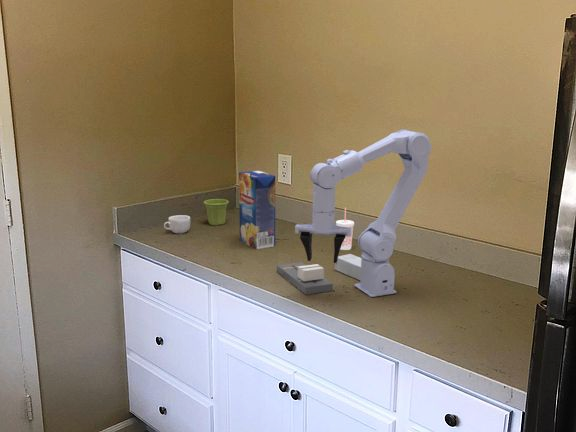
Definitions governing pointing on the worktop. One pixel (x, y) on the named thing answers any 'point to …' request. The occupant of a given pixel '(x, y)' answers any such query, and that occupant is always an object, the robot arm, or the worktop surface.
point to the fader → (310, 272)
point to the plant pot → (216, 211)
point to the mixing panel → (305, 286)
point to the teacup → (178, 223)
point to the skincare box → (349, 265)
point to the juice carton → (257, 209)
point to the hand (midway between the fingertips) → (322, 260)
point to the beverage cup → (348, 240)
